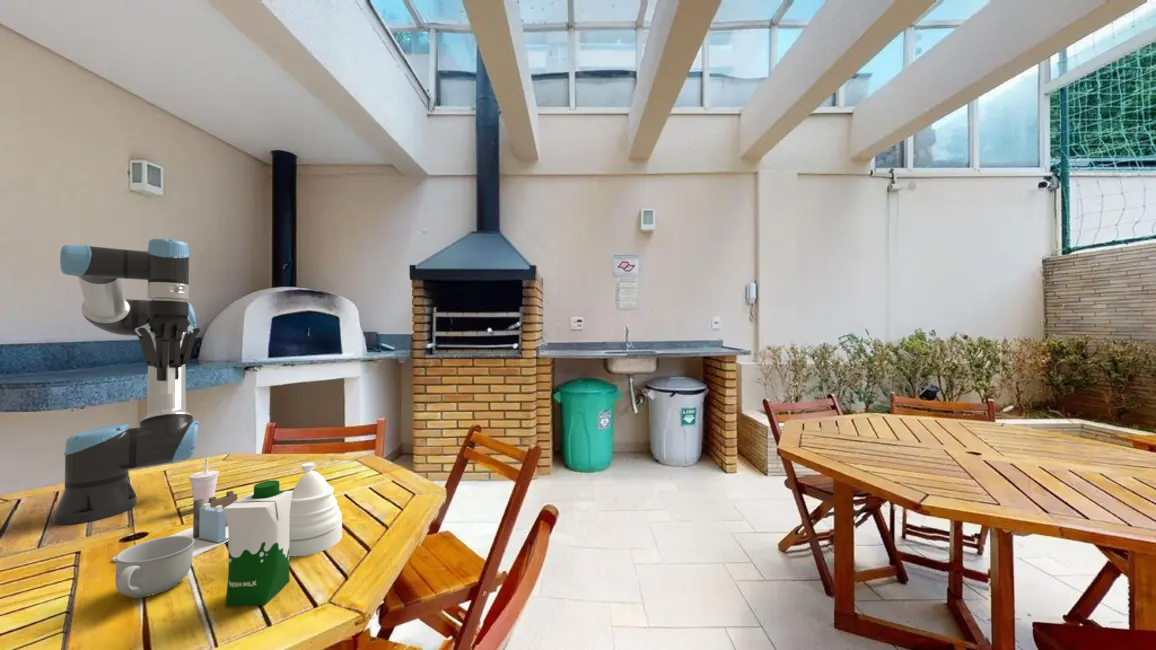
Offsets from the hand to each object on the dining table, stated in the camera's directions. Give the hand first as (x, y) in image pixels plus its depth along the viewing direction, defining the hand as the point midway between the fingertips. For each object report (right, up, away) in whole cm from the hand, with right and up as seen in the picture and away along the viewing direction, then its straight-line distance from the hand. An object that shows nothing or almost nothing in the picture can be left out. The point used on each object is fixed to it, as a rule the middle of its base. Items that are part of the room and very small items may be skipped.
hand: (167, 393), depth 106 cm
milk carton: (+44, -34, -27) cm, 61 cm away
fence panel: (+17, -33, -7) cm, 38 cm away
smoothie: (-2, -35, +13) cm, 37 cm away
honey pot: (+41, -34, -7) cm, 54 cm away
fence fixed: (+13, -34, -2) cm, 36 cm away
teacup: (+22, -34, -26) cm, 48 cm away
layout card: (+13, -34, -7) cm, 37 cm away
